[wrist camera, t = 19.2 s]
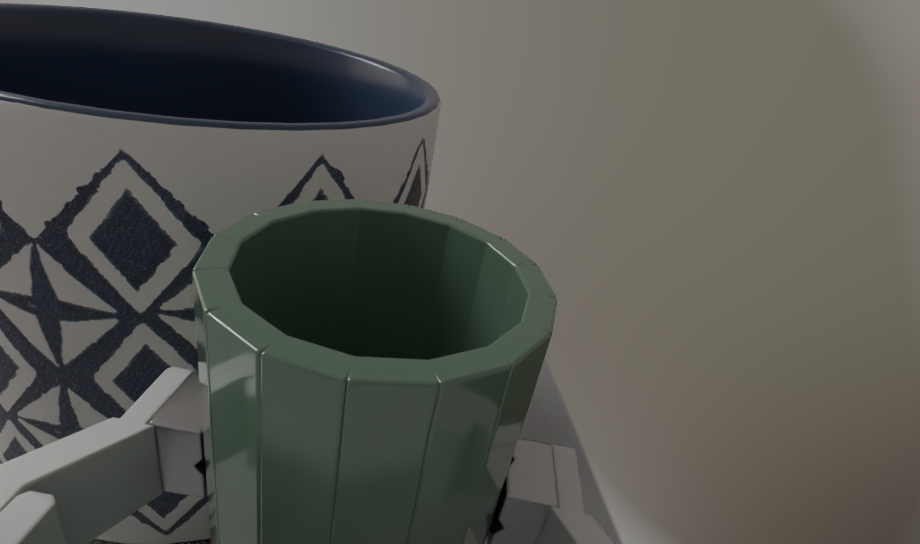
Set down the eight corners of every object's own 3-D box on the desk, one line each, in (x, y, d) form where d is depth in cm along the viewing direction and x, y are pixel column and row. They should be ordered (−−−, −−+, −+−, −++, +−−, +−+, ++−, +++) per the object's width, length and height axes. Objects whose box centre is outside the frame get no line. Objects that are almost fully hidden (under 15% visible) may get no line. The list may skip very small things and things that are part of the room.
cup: (412, 799, 10) (535, 441, 6) (163, 695, 11) (92, 301, 6) (472, 549, 15) (566, 244, 11) (296, 488, 16) (311, 177, 11)
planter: (124, 276, 34) (86, -5, 26) (402, 315, 36) (443, 65, 28) (-151, 533, 18) (-451, 20, 11) (370, 576, 20) (442, 173, 13)
